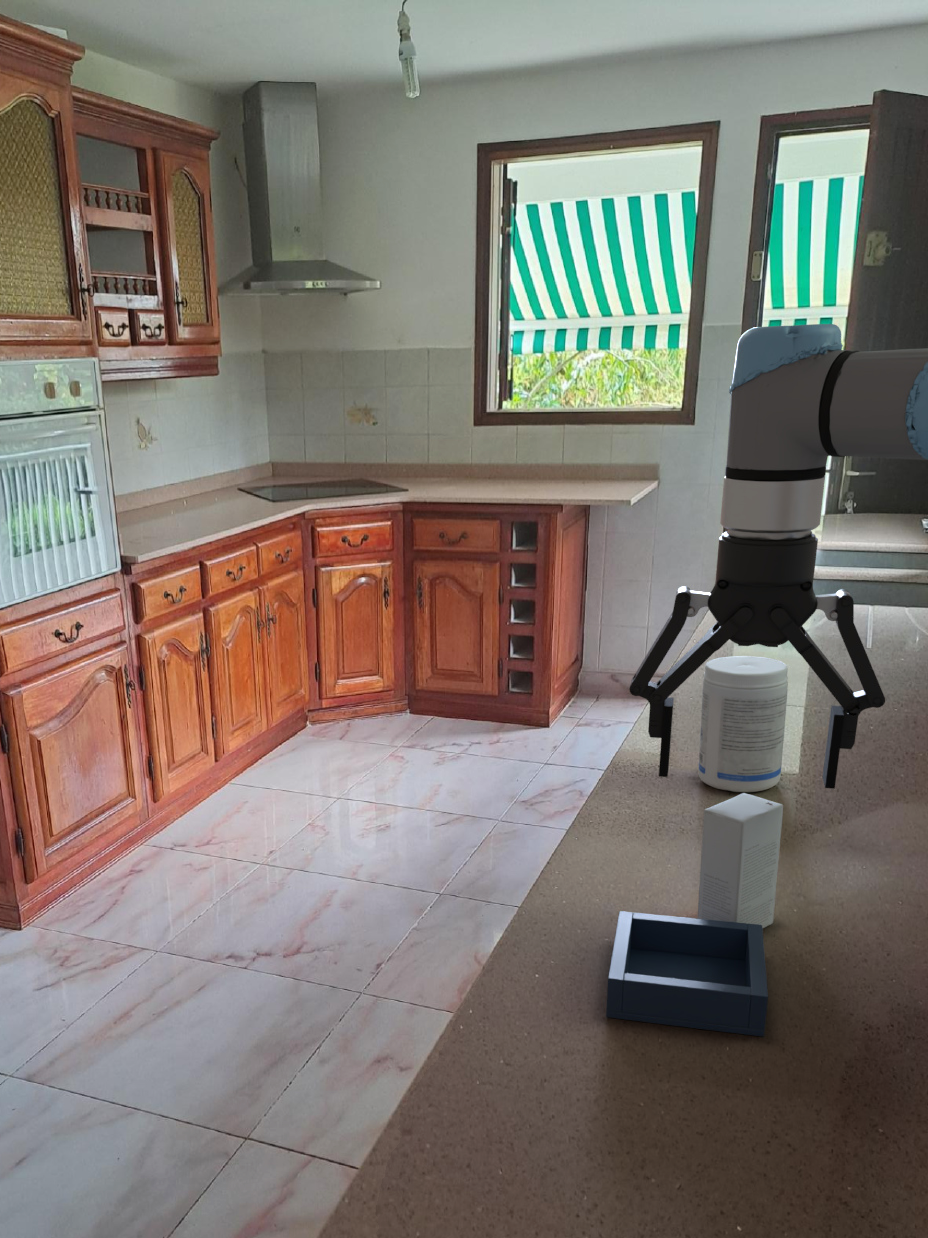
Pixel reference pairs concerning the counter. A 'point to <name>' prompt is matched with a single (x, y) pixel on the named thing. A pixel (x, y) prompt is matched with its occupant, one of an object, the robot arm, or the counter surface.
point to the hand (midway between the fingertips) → (744, 777)
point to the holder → (688, 973)
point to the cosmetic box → (740, 860)
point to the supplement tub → (743, 723)
